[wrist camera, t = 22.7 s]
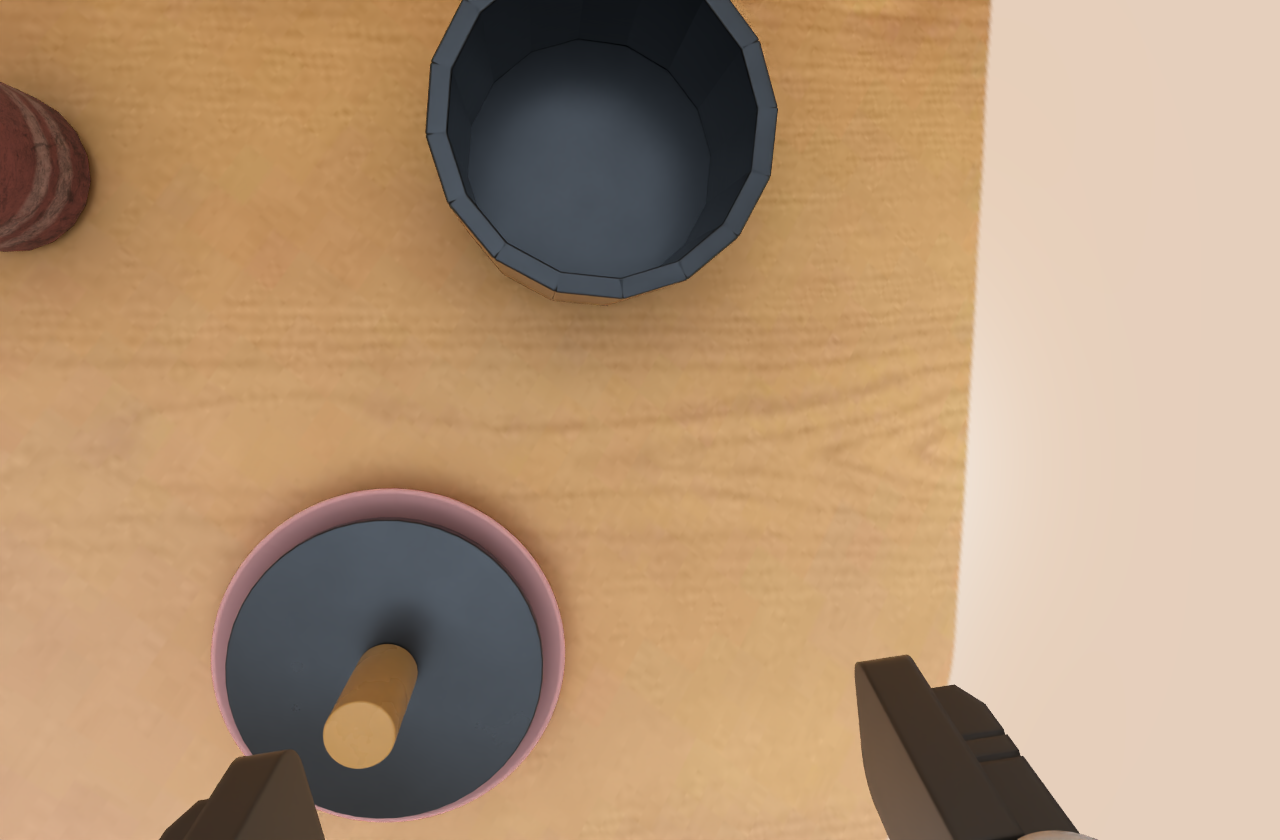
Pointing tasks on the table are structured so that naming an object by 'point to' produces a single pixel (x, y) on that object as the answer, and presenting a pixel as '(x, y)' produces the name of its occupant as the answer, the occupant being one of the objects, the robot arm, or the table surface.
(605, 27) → the tin
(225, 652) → the plate
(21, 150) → the can
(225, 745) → the table surface
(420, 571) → the lid
